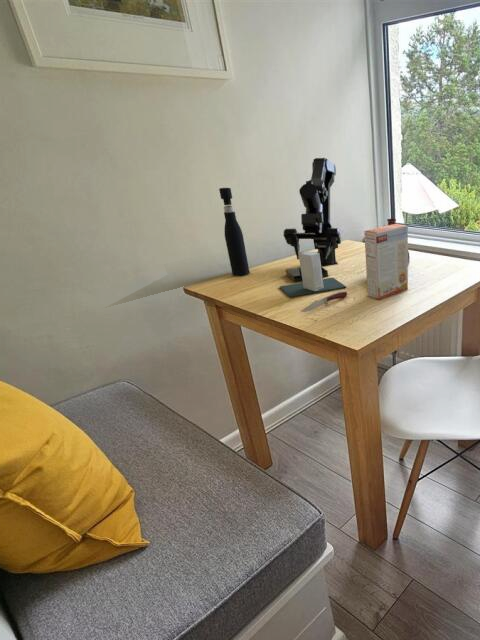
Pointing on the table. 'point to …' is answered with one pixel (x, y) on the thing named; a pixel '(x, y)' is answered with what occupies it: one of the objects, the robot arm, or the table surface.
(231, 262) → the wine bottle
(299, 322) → the table surface
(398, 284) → the cracker box
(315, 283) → the cosmetic box
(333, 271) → the table surface
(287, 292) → the mat
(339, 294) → the knife
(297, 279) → the control block
